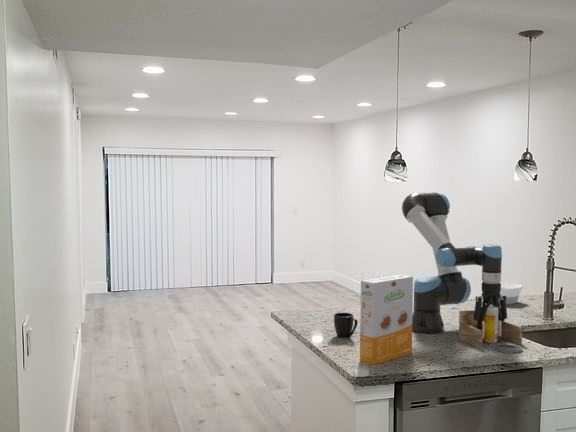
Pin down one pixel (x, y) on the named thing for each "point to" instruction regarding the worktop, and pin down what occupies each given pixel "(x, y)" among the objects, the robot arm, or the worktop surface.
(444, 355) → the worktop surface
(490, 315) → the beer can
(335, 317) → the mug
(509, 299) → the bowl
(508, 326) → the shelf bay
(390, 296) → the cereal box
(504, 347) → the coaster
